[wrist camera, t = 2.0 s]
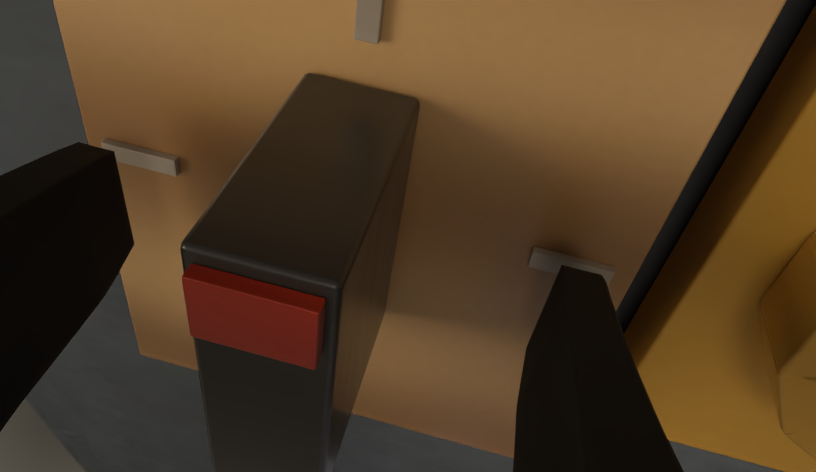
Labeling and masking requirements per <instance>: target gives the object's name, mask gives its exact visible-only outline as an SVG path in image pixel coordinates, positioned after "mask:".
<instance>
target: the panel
mask: <svg viewBox="0 0 816 472" xmlns="http://www.w3.org/2000/svg"><path fill="white" fill-rule="evenodd" d="M786 1H787V0H53V2H54V6H55V10H56V14H57V18H58V22H59V26H60V30H61V34H62V38H63V43H64V47H65V51H66V55H67V59H68V63H69V67H70V71H71V75H72V79H73V83H74V87H75V91H76V95H77V99H78V103H79V107H80V111H81V115H82V119H83V123H84V128H85V132H86V136H87V140H88V144H89V145H91V146H95V147H99V148H103V149H107V150H111V151H114V152H115V157H116V162H117V166H118V171H119V175H120V180H121V184H122V189H123V194H124V198H125V203H126V207H127V212H128V216H129V221H130V226H131V230H132V235H133V239H134V246H133V248H132V250H131V251H130V253H129V255H128V257H127V259H126V260H125V262H124V264H123V266H122V268H121V269H120V273H121V277H122V281H123V285H124V289H125V293H126V297H127V302H128V306H129V310H130V314H131V318H132V322H133V326H134V330H135V334H136V338H137V342H138V346H139V350H140V354H141V355H144V356H147V357H151V358H154V359H158V360H162V361H165V362H169V363H172V364H176V365H180V366H183V367H187V368H190V369H194V370H198V365H197V358H196V351H195V345H194V338H193V337H192V336H191V335H190V330H189V323H188V317H187V310H186V304H185V297H184V291H183V284H182V276H183V274H184V271H183V264H182V258H181V251H180V248H181V243H182V241H183V240H184V238H185V237H186V236H187V234H188V233H189V232H190V230H191V229H192V227H193V226H194V225H195V223H196V222H197V221H198V219H199V218H200V217H201V215H202V214H203V212H204V211H205V210H206V208H207V207H208V206H209V204H210V203H211V202H212V200H213V199H214V197H215V196H216V195H217V193H218V192H219V191H220V189H221V188H222V187H223V185H224V184H225V183H226V181H227V180H228V178H229V177H230V176H231V174H232V173H233V172H234V170H235V169H236V168H237V166H238V165H239V163H240V162H241V161H242V159H243V158H244V157H245V155H246V154H247V153H248V151H249V150H250V148H251V147H252V146H253V144H254V143H255V142H256V140H257V139H258V138H259V136H260V135H261V133H262V132H263V131H264V129H265V128H266V127H267V125H268V124H269V123H270V121H271V120H272V118H273V117H274V116H275V114H276V113H277V112H278V110H279V109H280V108H281V106H282V105H283V103H284V102H285V101H286V99H287V98H288V97H289V95H290V94H291V93H292V91H293V90H294V88H295V87H296V86H297V84H298V83H299V82H300V80H301V79H302V78H303V76H304V75H305V74H307V73H312V74H317V75H321V76H325V77H329V78H333V79H338V80H342V81H346V82H350V83H354V84H358V85H363V86H367V87H371V88H375V89H379V90H384V91H388V92H392V93H396V94H400V95H404V96H409V97H413V98H416V99H418V100H419V105H420V107H419V113H418V119H417V125H416V131H415V137H414V143H413V149H412V154H411V160H410V166H409V172H408V178H407V184H406V190H405V196H404V201H403V207H402V213H401V219H400V225H399V231H398V237H397V243H396V249H395V254H394V260H393V266H392V272H391V278H390V284H389V290H388V296H387V301H386V307H385V313H384V317H383V320H382V323H381V326H380V329H379V332H378V335H377V338H376V341H375V344H374V347H373V350H372V353H371V356H370V359H369V362H368V365H367V368H366V371H365V374H364V377H363V380H362V383H361V385H360V388H359V391H358V394H357V397H356V400H355V403H354V406H353V409H352V412H351V413H352V414H356V415H359V416H363V417H367V418H370V419H374V420H377V421H381V422H385V423H388V424H392V425H395V426H399V427H403V428H406V429H410V430H413V431H417V432H421V433H424V434H428V435H431V436H435V437H438V438H442V439H446V440H449V441H453V442H456V443H460V444H464V445H467V446H471V447H474V448H478V449H482V450H485V451H489V452H492V453H496V454H500V455H503V456H507V457H510V458H514V445H515V426H516V408H517V401H518V394H519V388H520V382H521V376H522V370H523V364H524V358H525V352H526V347H527V345H528V342H529V340H530V338H531V335H532V333H533V331H534V328H535V326H536V324H537V321H538V319H539V317H540V314H541V312H542V310H543V307H544V305H545V303H546V300H547V298H548V296H549V293H550V291H551V289H552V286H553V284H554V282H555V279H556V277H557V275H558V272H559V270H560V268H561V265H565V266H569V267H572V268H576V269H580V270H584V271H588V272H592V273H596V274H600V275H602V276H603V278H604V279H605V281H606V283H607V286H608V289H609V292H610V296H611V299H612V302H613V305H614V308H615V311H617V309H618V307H619V305H620V303H621V301H622V300H623V298H624V296H625V294H626V292H627V291H628V289H629V287H630V285H631V283H632V281H633V280H634V278H635V276H636V274H637V272H638V270H639V269H640V267H641V265H642V263H643V261H644V260H645V258H646V256H647V254H648V252H649V250H650V249H651V247H652V245H653V243H654V241H655V239H656V238H657V236H658V234H659V232H660V230H661V229H662V227H663V225H664V223H665V221H666V219H667V218H668V216H669V214H670V212H671V210H672V209H673V207H674V205H675V203H676V201H677V199H678V198H679V196H680V194H681V192H682V190H683V188H684V187H685V185H686V183H687V181H688V179H689V178H690V176H691V174H692V172H693V170H694V168H695V167H696V165H697V163H698V161H699V159H700V157H701V156H702V154H703V152H704V150H705V148H706V147H707V145H708V143H709V141H710V139H711V137H712V136H713V134H714V132H715V130H716V128H717V126H718V125H719V123H720V121H721V119H722V117H723V116H724V114H725V112H726V110H727V108H728V106H729V105H730V103H731V101H732V99H733V97H734V95H735V94H736V92H737V90H738V88H739V86H740V85H741V83H742V81H743V79H744V77H745V75H746V74H747V72H748V70H749V68H750V66H751V65H752V63H753V61H754V59H755V57H756V55H757V54H758V52H759V50H760V48H761V46H762V44H763V43H764V41H765V39H766V37H767V35H768V34H769V32H770V30H771V28H772V26H773V24H774V23H775V21H776V19H777V17H778V15H779V13H780V12H781V10H782V8H783V6H784V4H785V3H786Z"/></svg>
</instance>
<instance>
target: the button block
mask: <svg viewBox="0 0 816 472" xmlns="http://www.w3.org/2000/svg"><path fill="white" fill-rule="evenodd" d="M624 336H625V339H626V341H627V344H628V347H629V349H630V352H631V355H632V357H633V360H634V362H635V365H636V367H637V370H638V372H639V375H640V377H641V380H642V382H643V384H644V387H645V389H646V391H647V394H648V396H649V398H650V401H651V403H652V405H653V408H654V410H655V413H656V415H657V417H658V419H659V421H660V424H661V426H662V428H663V430H664V432H665V435H666V437H667V439H668V440H670V441H674V442H677V443H681V444H685V445H688V446H692V447H696V448H699V449H703V450H707V451H711V452H714V453H718V454H722V455H725V456H729V457H733V458H736V459H740V460H744V461H747V462H751V463H755V464H758V465H762V466H766V467H770V468H773V469H777V470H781V471H784V472H816V5H815V7H814V8H813V10H812V12H811V14H810V15H809V17H808V19H807V20H806V22H805V24H804V26H803V27H802V29H801V31H800V32H799V34H798V36H797V38H796V39H795V41H794V43H793V44H792V46H791V48H790V50H789V51H788V53H787V55H786V56H785V58H784V60H783V62H782V63H781V65H780V67H779V68H778V70H777V72H776V74H775V75H774V77H773V79H772V80H771V82H770V84H769V86H768V87H767V89H766V91H765V92H764V94H763V96H762V98H761V99H760V101H759V103H758V104H757V106H756V108H755V110H754V111H753V113H752V115H751V116H750V118H749V120H748V122H747V123H746V125H745V127H744V128H743V130H742V132H741V134H740V135H739V137H738V139H737V141H736V142H735V144H734V146H733V147H732V149H731V151H730V153H729V154H728V156H727V158H726V159H725V161H724V163H723V165H722V166H721V168H720V170H719V171H718V173H717V175H716V177H715V178H714V180H713V182H712V183H711V185H710V187H709V189H708V190H707V192H706V194H705V195H704V197H703V199H702V201H701V202H700V204H699V206H698V207H697V209H696V211H695V213H694V214H693V216H692V218H691V219H690V221H689V223H688V225H687V226H686V228H685V230H684V231H683V233H682V235H681V237H680V238H679V240H678V242H677V243H676V245H675V247H674V249H673V250H672V252H671V254H670V255H669V257H668V259H667V261H666V262H665V264H664V266H663V267H662V269H661V271H660V273H659V274H658V276H657V278H656V279H655V281H654V283H653V285H652V286H651V288H650V290H649V292H648V293H647V295H646V297H645V298H644V300H643V302H642V304H641V305H640V307H639V309H638V310H637V312H636V314H635V316H634V317H633V319H632V321H631V322H630V324H629V326H628V328H627V329H626V331H625V333H624Z"/></svg>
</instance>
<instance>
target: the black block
mask: <svg viewBox="0 0 816 472" xmlns="http://www.w3.org/2000/svg"><path fill="white" fill-rule="evenodd" d="M419 107H420V105H419V100H418V99H416V98H413V97H409V96H404V95H400V94H396V93H392V92H388V91H384V90H379V89H375V88H371V87H367V86H363V85H358V84H354V83H350V82H346V81H342V80H338V79H333V78H329V77H325V76H321V75H317V74H312V73H307V74H305V75H304V76H303V78H302V79H301V80H300V82H299V83H298V84H297V86H296V87H295V88H294V90H293V91H292V93H291V94H290V95H289V97H288V98H287V99H286V101H285V102H284V103H283V105H282V106H281V108H280V109H279V110H278V112H277V113H276V114H275V116H274V117H273V118H272V120H271V121H270V123H269V124H268V125H267V127H266V128H265V129H264V131H263V132H262V133H261V135H260V136H259V138H258V139H257V140H256V142H255V143H254V144H253V146H252V147H251V148H250V150H249V151H248V153H247V154H246V155H245V157H244V158H243V159H242V161H241V162H240V163H239V165H238V166H237V168H236V169H235V170H234V172H233V173H232V174H231V176H230V177H229V178H228V180H227V181H226V183H225V184H224V185H223V187H222V188H221V189H220V191H219V192H218V193H217V195H216V196H215V197H214V199H213V200H212V202H211V203H210V204H209V206H208V207H207V208H206V210H205V211H204V212H203V214H202V215H201V217H200V218H199V219H198V221H197V222H196V223H195V225H194V226H193V227H192V229H191V230H190V232H189V233H188V234H187V236H186V237H185V238H184V240H183V241H182V243H181V248H180V251H181V258H182V264H183V271H184V274H183V276H182V284H183V291H184V297H185V304H186V310H187V317H188V323H189V330H190V335H191V336H192V337H193V338H194V345H195V351H196V358H197V365H198V371H199V378H200V385H201V391H202V398H203V405H204V411H205V418H206V425H207V431H208V438H209V445H210V452H211V458H212V465H213V469H214V470H215V471H216V472H332V469H333V466H334V463H335V460H336V457H337V454H338V451H339V448H340V445H341V442H342V439H343V436H344V433H345V430H346V427H347V424H348V421H349V418H350V415H351V412H352V409H353V406H354V403H355V400H356V397H357V394H358V391H359V388H360V385H361V383H362V380H363V377H364V374H365V371H366V368H367V365H368V362H369V359H370V356H371V353H372V350H373V347H374V344H375V341H376V338H377V335H378V332H379V329H380V326H381V323H382V320H383V317H384V313H385V307H386V301H387V296H388V290H389V284H390V278H391V272H392V266H393V260H394V254H395V249H396V243H397V237H398V231H399V225H400V219H401V213H402V207H403V201H404V196H405V190H406V184H407V178H408V172H409V166H410V160H411V154H412V149H413V143H414V137H415V131H416V125H417V119H418V113H419Z"/></svg>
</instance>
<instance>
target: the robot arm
mask: <svg viewBox="0 0 816 472" xmlns="http://www.w3.org/2000/svg"><path fill="white" fill-rule="evenodd" d="M133 246H134V239H133V235H132V230H131V226H130V221H129V216H128V212H127V207H126V203H125V198H124V194H123V189H122V184H121V180H120V175H119V171H118V166H117V162H116V157H115V152H114V151H111V150H107V149H103V148H99V147H95V146H91V145H87V144H83V143H79V142H78V143H76V144H73V145H70V146H68V147H65V148H63V149H60V150H58V151H55V152H53V153H51V154H48V155H46V156H44V157H41V158H39V159H37V160H34V161H32V162H30V163H28V164H25V165H23V166H21V167H19V168H17V169H14V170H12V171H10V172H8V173H5V174H3V175H1V176H0V431H1V430H2V429H3V427H4V426H5V424H6V423H7V421H8V420H9V419H10V417H11V416H12V415H13V413H14V412H15V410H16V409H17V408H18V406H19V405H20V404H21V402H22V401H23V400H24V399H25V397H26V396H27V395H28V394H29V392H30V391H31V390H32V388H33V387H34V386H35V385H36V383H37V382H38V381H39V380H40V378H41V377H42V376H43V375H44V373H45V372H46V371H47V369H48V368H49V367H50V366H51V364H52V363H53V362H54V361H55V359H56V358H57V357H58V355H59V354H60V353H61V352H62V350H63V349H64V348H65V347H66V345H67V344H68V343H69V342H70V340H71V339H72V338H73V336H74V335H75V334H76V333H77V331H78V330H79V329H80V327H81V326H82V325H83V324H84V322H85V321H86V320H87V318H88V317H89V316H90V314H91V313H92V312H93V311H94V309H95V308H96V307H97V305H98V304H99V303H100V301H101V300H102V299H103V297H104V296H105V295H106V293H107V291H108V290H109V288H110V286H111V285H112V283H113V281H114V280H115V278H116V276H117V275H118V273H119V271H120V269H121V268H122V266H123V264H124V262H125V260H126V259H127V257H128V255H129V253H130V251H131V250H132V248H133ZM513 472H683V470H682V467H681V465H680V463H679V461H678V459H677V457H676V455H675V453H674V451H673V449H672V447H671V445H670V443H669V441H668V439H667V437H666V435H665V432H664V430H663V428H662V426H661V424H660V421H659V419H658V417H657V415H656V413H655V410H654V408H653V405H652V403H651V401H650V398H649V396H648V394H647V391H646V389H645V387H644V384H643V382H642V380H641V377H640V375H639V372H638V370H637V367H636V365H635V362H634V360H633V357H632V355H631V352H630V349H629V347H628V344H627V341H626V339H625V336H624V333H623V331H622V328H621V325H620V322H619V319H618V316H617V314H616V311H615V308H614V305H613V302H612V299H611V296H610V292H609V289H608V286H607V283H606V281H605V279H604V278H603V276H602V275H600V274H596V273H592V272H588V271H584V270H580V269H576V268H572V267H569V266H565V265H561V268H560V270H559V272H558V275H557V277H556V279H555V282H554V284H553V286H552V289H551V291H550V293H549V296H548V298H547V300H546V303H545V305H544V307H543V310H542V312H541V314H540V317H539V319H538V321H537V324H536V326H535V328H534V331H533V333H532V335H531V338H530V340H529V342H528V345H527V347H526V352H525V358H524V364H523V370H522V376H521V382H520V388H519V394H518V401H517V408H516V426H515V445H514V466H513Z"/></svg>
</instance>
